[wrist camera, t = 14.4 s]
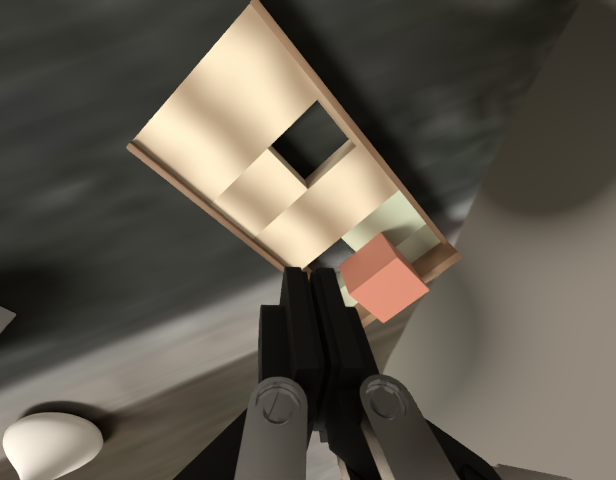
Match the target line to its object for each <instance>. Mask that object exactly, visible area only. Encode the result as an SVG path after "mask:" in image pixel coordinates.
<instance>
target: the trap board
mask: <svg viewBox="0 0 616 480" xmlns="http://www.w3.org/2000/svg"><path fill="white" fill-rule="evenodd" d="M316 100H318V101H319V103H320V104H321V105H322V106H323V107H324V109H325V110H326V111H327V112H328V114H329V115H330V116H331V117H332V118H333V120H334V121H335V122H336V123H337V125H338V126H339V127H340V128H341V129H342V131H343V132H344V133H345V134H346V136H347V137H348V138H349V140H348V141H347V142H346V143H344V144H343V145H342V146H341V147H340V148H339V149H338V150H337V151H336V152H335V153H333V154H332V155H331V156H330V157H329V158H328V159H327V160H326V161H325V162H324V163H322V164H321V165H320V166H319V167H318V168H317V169H316V170H315V171H314V172H313V173H311V174H310V175H309V176H308V177H307V178H306V179H305V180H304V179H303V178H302V177H301V176H300V175H299V174H298V172H297V171H296V170H295V169H294V168H293V167H292V166H291V165H290V164H289V163H288V162H287V161H286V160H285V159H284V158H283V157H282V156H281V155H280V154H279V153H278V152H277V151H276V150H275V149H274V148H273V147H272V146H271V144H272V143H274V142H275V141H276V140H277V139H278V138H279V137H280V136H281V135H282V134H283V133H284V132H285V131H286V130H287V129H288V128H289V127H290V126H291V125H292V124H293V123H294V122H295V121H296V120H297V119H298V118H299V117H300V116H301V115H302V114H303V113H304V112H305V111H306V110H307V109H308V108H309V107H310V106H311V105H312V104H313V103H314V102H315V101H316ZM126 148H127V149H128V150H129V151H131V152H132V153H133V154H134V155H136V156H137V157H138V158H139V159H141V160H142V161H143V162H144V163H146V164H147V165H148V166H149V167H151V168H152V169H153V170H154V171H156V172H157V173H158V174H160V175H161V176H162V177H163V178H165V179H166V180H167V181H168V182H170V183H171V184H172V185H173V186H175V187H176V188H177V189H178V190H180V191H181V192H182V193H183V194H185V195H186V196H187V197H188V198H190V199H191V200H192V201H194V202H195V203H196V204H197V205H199V206H200V207H201V208H202V209H204V210H205V211H206V212H207V213H209V214H210V215H211V216H212V217H214V218H215V219H216V220H217V221H219V222H220V223H221V224H222V225H224V226H225V227H226V228H228V229H229V230H230V231H231V232H233V233H234V234H235V235H236V236H238V237H239V238H240V239H241V240H243V241H244V242H245V243H246V244H248V245H249V246H250V247H251V248H253V249H254V250H255V251H256V252H258V253H259V254H260V255H262V256H263V257H264V258H265V259H267V260H268V261H269V262H270V263H272V264H273V265H274V266H275V267H277V268H278V269H279V270H280V271H282V272H283V273H284V267H285V266H287V267H301V269H302V271H307V274H308V279H309V278H310V273H311V272H314V271H312V270H311V269H310V268H309V267H308V266H307V265H308V264H309V263H310V262H312V261H313V260H314V259H315V258H317V257H318V256H319V255H320V254H321V253H323V252H324V251H325V250H326V249H328V248H329V247H330V246H331V245H333V244H334V243H335V242H336V241H337V240H339V239H340V238H342V239H343V240H344V241H345V242H346V243H347V244H348V245H349V246H350V247H351V248H352V249H353V250H354V251H355V252H357V251H358V250H359V249H360V248H362V247H363V246H364V245H365V244H367V243H368V242H369V241H370V240H372V239H373V238H374V237H375V236H376V235H378V234H379V233H380V232H381V233H382V234H383V235H384V236H385V237H386V238H387V239H388V240H389V241H390V242H391V243H392V244H393V245H394V246H395V247H396V248H397V250H398V251H399V252H400V253H401V254H402V255H403V256H404V257H405V258H406V259H407V260H408V261H409V262H410V263H411V264H412V266H413V267H414V269H415V270H416V272H417V273H418V274H419V276H420V277H421V279H422V280H423V281H424V283H425V284H426V283H427V282H429V281H430V280H431V279H433V278H434V277H436V276H437V275H438V274H440V273H441V272H443V271H444V270H445V269H447V268H448V267H450V266H451V265H453V264H454V263H455V262H457V261H458V260H460V259H461V258H462V257H461V256H460V254H459V253H458V252H457V251H456V250H455V249H454V248H453V247H452V245H451V244H450V243H449V242H448V241H447V240H446V239H445V237H444V236H443V235H442V234H441V232H440V231H439V230H438V229H437V227H436V226H435V225H434V223H433V222H432V221H431V220H430V218H429V217H428V216H427V215H426V213H425V212H424V211H423V209H422V208H421V207H420V206H419V204H418V203H417V202H416V200H415V199H414V198H413V197H412V195H411V194H410V193H409V192H408V190H407V189H406V188H405V186H404V185H403V184H402V183H401V181H400V180H399V179H398V178H397V176H396V175H395V174H394V172H393V171H392V170H391V169H390V167H389V166H388V165H387V163H386V162H385V161H384V160H383V158H382V157H381V156H380V155H379V153H378V152H377V151H376V149H375V148H374V147H373V146H372V144H371V143H370V142H369V141H368V139H367V138H366V137H365V135H364V134H363V133H362V132H361V130H360V129H359V128H358V126H357V125H356V124H355V123H354V121H353V120H352V119H351V118H350V116H349V115H348V114H347V112H346V111H345V110H344V109H343V107H342V106H341V105H340V104H339V102H338V101H337V100H336V98H335V97H334V96H333V95H332V93H331V92H330V91H329V89H328V88H327V87H326V86H325V84H324V83H323V82H322V81H321V79H320V78H319V77H318V75H317V74H316V73H315V72H314V70H313V69H312V68H311V67H310V65H309V64H308V63H307V61H306V60H305V59H304V58H303V56H302V55H301V54H300V52H299V51H298V50H297V49H296V47H295V46H294V45H293V44H292V42H291V41H290V40H289V38H288V37H287V36H286V35H285V33H284V32H283V31H282V30H281V28H280V27H279V26H278V24H277V23H276V22H275V21H274V19H273V18H272V17H271V15H270V14H269V13H268V12H267V10H266V9H265V8H264V7H263V5H262V4H261V3H260V1H259V0H252V1H251V2H250V4H249V5H248V7H247V8H246V9H245V10H244V11H243V12H242V14H241V15H240V16H239V17H238V18H237V19H236V21H235V22H234V23H233V24H232V25H231V26H230V28H229V29H228V30H227V31H226V32H225V33H224V35H223V36H222V37H221V38H220V39H219V40H218V42H217V43H216V44H215V45H214V46H213V47H212V49H211V50H210V51H209V52H208V53H207V54H206V56H205V57H204V58H203V59H202V60H201V61H200V63H199V64H198V65H197V66H196V67H195V68H194V70H193V71H192V72H191V73H190V74H189V75H188V77H187V78H186V79H185V80H184V81H183V82H182V84H181V85H180V86H179V87H178V88H177V89H176V91H175V92H174V93H173V94H172V95H171V96H170V98H169V99H168V100H167V101H166V102H165V103H164V105H163V106H162V107H161V108H160V109H159V110H158V112H157V113H156V114H155V115H154V116H153V117H152V119H151V120H150V121H149V122H148V123H147V124H146V126H145V127H144V128H143V129H142V130H141V131H140V133H139V134H138V135H137V136H136V137H135V138H134V140H133V141H132V142H130V143H129V144H128V145H127V147H126ZM336 278H337V281H338V284H339V287H340V290H341V294H342V297H343V300H344V303H345V306H352V307H355V308H356V309H357V311H358V314H359V317H360V320H361V323H362V325H363V328H364V327H365V326H366V325H368V324H369V323H371V322H372V321H373V320H375V319H376V318H377V317H375V316H374V315H373V314H372V313H371V312H369V311H368V310H367V309H366V308H364V307H363V306H362V305H361V304H360V303H358V302H357V301H356V300H355V299H354V298H352V297H351V296H350V295H349V293H348V291H347V288H346V285H345V282H344V280H343V277H342V274H341V272H339V273H338V274H337V275H336Z"/></svg>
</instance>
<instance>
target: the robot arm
mask: <svg viewBox="0 0 616 480" xmlns="http://www.w3.org/2000/svg"><path fill="white" fill-rule="evenodd" d="M312 430H314V431H319V434H320V441H321V443H322V442H328V444H329V449H330V450H331V451H332V452H333V453H335V454H336V455H337V461H338V466H339V469H340V472H341V475H342V479H343V480H572V479H569V478H567V477H562V476H557V475H552V474H547V473H542V472H537V471H532V470H527V469H522V468H517V467H512V466H507V465H502V464H497V465H496V467H493V466H490V465H489V464H488V463H487V462H486V461H485V460H483V459H482V458H481V457H479V456H478V455H476V454H475V453H474V452H472V451H471V450H469V449H468V448H466V447H465V446H464V445H462V444H461V443H459V442H458V441H457V440H455V439H454V438H452V437H451V436H450V435H448V434H447V433H445V432H444V431H442V430H441V429H440V428H438V427H437V426H435V425H434V424H432V423H431V422H430V421H428V420H426V419H425V418H424V417H423V415H422V413H421V411H420V410H419V408H418V406H417V404H416V402H415V401H414V399H413V397H412V395H411V394H410V392H409V391H408V390H407V388H406V387H405V386H404V385H403V384H402V383H401V382H399V381H398V380H396V379H394V378H392V377H390V376H386V375H383V374H379V371H378V368H377V365H376V363H375V360H374V357H373V354H372V351H371V348H370V345H369V343H368V340H367V337H366V334H365V331H364V328H363V325H362V323H361V320H360V317H359V314H358V311H357V309H356V308H355V307H352V306H345V303H344V300H343V297H342V294H341V290H340V287H339V284H338V281H337V278H336V274H335V271H334V269H333V268H317V269H316V272H311V273H310V278H309V279H308V274H307V271H302V269H301V267H287V266H285V267H284V273H283V281H282V289H281V297H280V304H279V305H261V308H260V319H259V337H258V385H257V386H256V387H255V388H254V390H253V391H252V394H251V396H250V399H249V404H248V408H247V409H246V410H245V411H244V412H243V413H242V414H241V415H240V416H239V417H238V418H236V419H235V420H234V421H233V422H232V423H231V424H230V425H229V426H228V427H227V428H226V429H225V430H224V431H223V432H222V433H221V434H220V435H219V436H218V437H217V438H216V439H215V440H213V441H212V442H211V443H210V444H209V445H208V446H207V447H206V448H205V449H204V450H203V451H202V452H201V453H200V454H199V455H198V456H197V457H196V458H195V459H194V460H193V461H192V462H191V463H189V464H188V465H187V466H186V467H185V468H184V469H183V470H182V471H181V472H180V473H179V474H178V475H177V476H176V477H175V478H174V479H173V480H306V451H307V449H308V445H309V441H310V438H311V434H312Z"/></svg>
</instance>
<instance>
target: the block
mask: <svg viewBox="0 0 616 480" xmlns="http://www.w3.org/2000/svg"><path fill="white" fill-rule="evenodd" d="M339 269H340V271H341V274H342V277H343V280H344V282H345V285H346V288H347V291H348V293H349V295H350V296H351V297H352V298H354V299H355V300H356V301H357V302H358V303H360V304H361V305H362V306H363V307H364V308H366V309H367V310H368V311H369V312H371V313H372V314H373V315H374V316H375V317H377V318H378V319H379V320H380V321H381V322H383V323H384V322H386V321H387V320H389V319H390V318H391V317H393V316H394V315H396V314H397V313H398V312H400V311H401V310H403V309H404V308H405V307H407V306H408V305H409V304H411V303H412V302H414V301H415V300H416V299H418V298H419V297H421V296H422V295H423V294H425V293H426V292H428V291H429V289H428V287H427V286H426V284H425V283H424V281H423V280H422V279H421V277H420V276H419V274H418V273H417V272H416V270H415V269H414V267H413V266H412V264H411V263H410V262H409V261H408V260H407V259H406V258H405V257H404V256H403V255H402V254H401V253H400V252H399V251H398V250H397V248H396V247H395V246H394V245H393V244H392V243H391V242H390V241H389V240H388V239H387V238H386V237H385V236H384V235H383V234H382V233H381V232H380V233H379V234H378V235H376V236H375V237H374V238H373V239H372V240H370V241H369V242H368V243H367V244H365V245H364V246H363V247H362V248H360V249H359V250H358V251H357V252H356V253H354V254H353V255H352V256H351V257H349V258H348V259H347V260H346V261H345V262H343V263H342V264H341V265H340V266H339Z"/></svg>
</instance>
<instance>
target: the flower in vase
mask: <svg viewBox="0 0 616 480" xmlns="http://www.w3.org/2000/svg"><path fill="white" fill-rule="evenodd" d="M102 446H103V438H102V434H101V432H100V430H99V429H98V428H97V427H96V426H95V425H94V424H93V423H91V422H90V421H88V420H86V419H84V418H81V417H78V416H75V415H71V414H66V413H56V412H46V413H37V414H32V415H29V416H26V417H24V418H22V419H20V420H18V421H16V422H15V423H13V424H12V425H10V426H9V427H8V428H7V430H6V431H5V434H4V439H3V447H4V450H5V453H6V455H7V457H8V459H9V460H10V462H11V463H12V465H13V466H14V468H15V469H16V470H17V472H18V474H19V476H20V480H54V479H56V478H58V477H60V476H62V475H64V474H67V473H69V472H71V471H73V470H75V469H77V468H79V467H81V466H83V465H84V464H86V463H87V462H89V461H91V460H92V459H93V458H94V457H95V456H96V455H97V454H98V453H99V451H100V450H101V448H102Z"/></svg>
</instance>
